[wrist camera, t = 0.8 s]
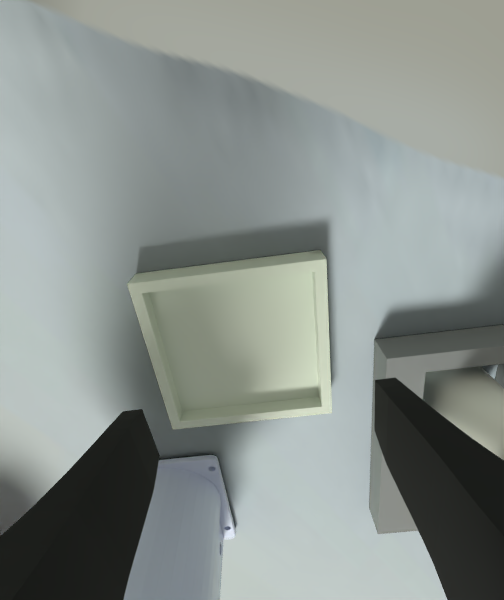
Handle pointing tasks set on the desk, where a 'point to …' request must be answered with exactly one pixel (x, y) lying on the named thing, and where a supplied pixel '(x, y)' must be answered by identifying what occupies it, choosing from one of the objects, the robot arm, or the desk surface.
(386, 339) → the housing
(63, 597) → the robot arm
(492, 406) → the grey cylinder
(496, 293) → the desk surface
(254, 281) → the tray
